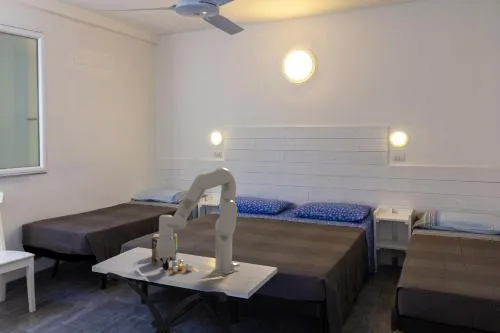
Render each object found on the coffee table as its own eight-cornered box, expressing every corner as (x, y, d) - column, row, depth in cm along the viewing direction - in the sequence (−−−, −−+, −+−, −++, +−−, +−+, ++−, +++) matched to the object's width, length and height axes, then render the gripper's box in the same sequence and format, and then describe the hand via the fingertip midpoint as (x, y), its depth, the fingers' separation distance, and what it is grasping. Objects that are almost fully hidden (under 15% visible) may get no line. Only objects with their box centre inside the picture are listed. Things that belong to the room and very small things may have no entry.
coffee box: (151, 264, 257) (151, 238, 256) (161, 263, 261) (161, 237, 260) (158, 268, 250) (158, 241, 249) (168, 266, 254) (168, 239, 253)
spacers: (183, 265, 252) (183, 258, 252) (191, 272, 240) (191, 264, 240) (162, 268, 246) (162, 261, 246) (170, 274, 234) (170, 267, 234)
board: (190, 266, 255) (190, 264, 255) (199, 273, 241) (199, 271, 241) (162, 269, 247) (162, 267, 247) (170, 277, 233) (170, 275, 233)
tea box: (177, 255, 279) (177, 233, 278) (175, 259, 268) (176, 236, 268) (154, 255, 277) (154, 233, 277) (151, 260, 267) (151, 236, 267)
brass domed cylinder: (181, 268, 247) (181, 263, 246) (184, 270, 243) (184, 265, 242) (174, 269, 244) (174, 264, 244) (176, 271, 241) (176, 266, 240)
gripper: (176, 234, 246) (176, 266, 247) (150, 237, 239) (150, 269, 240) (180, 237, 239) (180, 269, 240) (154, 239, 232) (154, 272, 233)
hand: (165, 269), depth 240 cm, fingers closed
